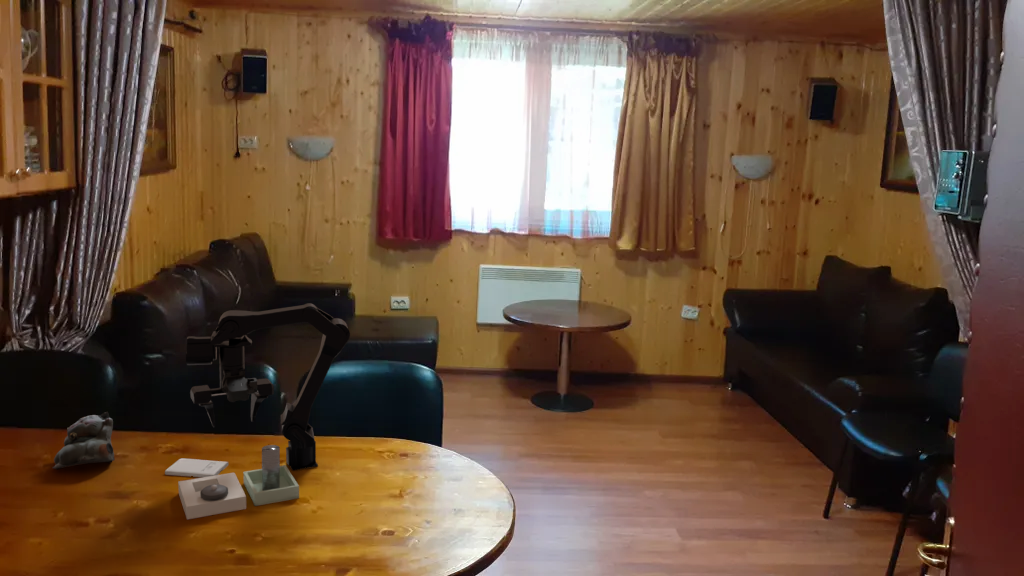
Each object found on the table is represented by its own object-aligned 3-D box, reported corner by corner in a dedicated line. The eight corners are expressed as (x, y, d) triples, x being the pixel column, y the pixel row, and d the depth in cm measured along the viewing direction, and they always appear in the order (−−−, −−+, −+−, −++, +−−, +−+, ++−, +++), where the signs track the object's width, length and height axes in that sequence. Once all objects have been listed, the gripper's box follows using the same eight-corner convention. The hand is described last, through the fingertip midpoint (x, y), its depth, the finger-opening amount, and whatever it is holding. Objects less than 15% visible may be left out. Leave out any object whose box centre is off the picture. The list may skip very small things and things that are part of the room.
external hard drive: (181, 463, 206) (228, 466, 205) (165, 476, 198) (213, 480, 197) (181, 457, 206) (228, 460, 204) (164, 470, 198) (213, 474, 196)
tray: (285, 476, 199) (285, 465, 199) (299, 497, 188) (298, 485, 187) (243, 483, 194) (243, 471, 194) (255, 506, 183) (254, 493, 183)
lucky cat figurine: (40, 470, 197) (45, 413, 201) (82, 472, 208) (86, 418, 212) (86, 463, 192) (90, 405, 196) (127, 465, 203) (129, 410, 207)
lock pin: (277, 483, 194) (277, 444, 192) (281, 490, 190) (281, 449, 188) (260, 486, 192) (260, 446, 190) (264, 492, 188) (263, 452, 187)
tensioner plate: (234, 484, 194) (234, 463, 193) (246, 508, 182) (245, 486, 181) (178, 493, 188) (177, 471, 187) (186, 519, 176) (186, 496, 175)
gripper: (197, 376, 185) (199, 441, 188) (279, 367, 194) (279, 429, 197) (189, 363, 194) (191, 425, 197) (267, 356, 204) (268, 414, 207)
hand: (233, 424), depth 199 cm, fingers open, 9 cm apart
